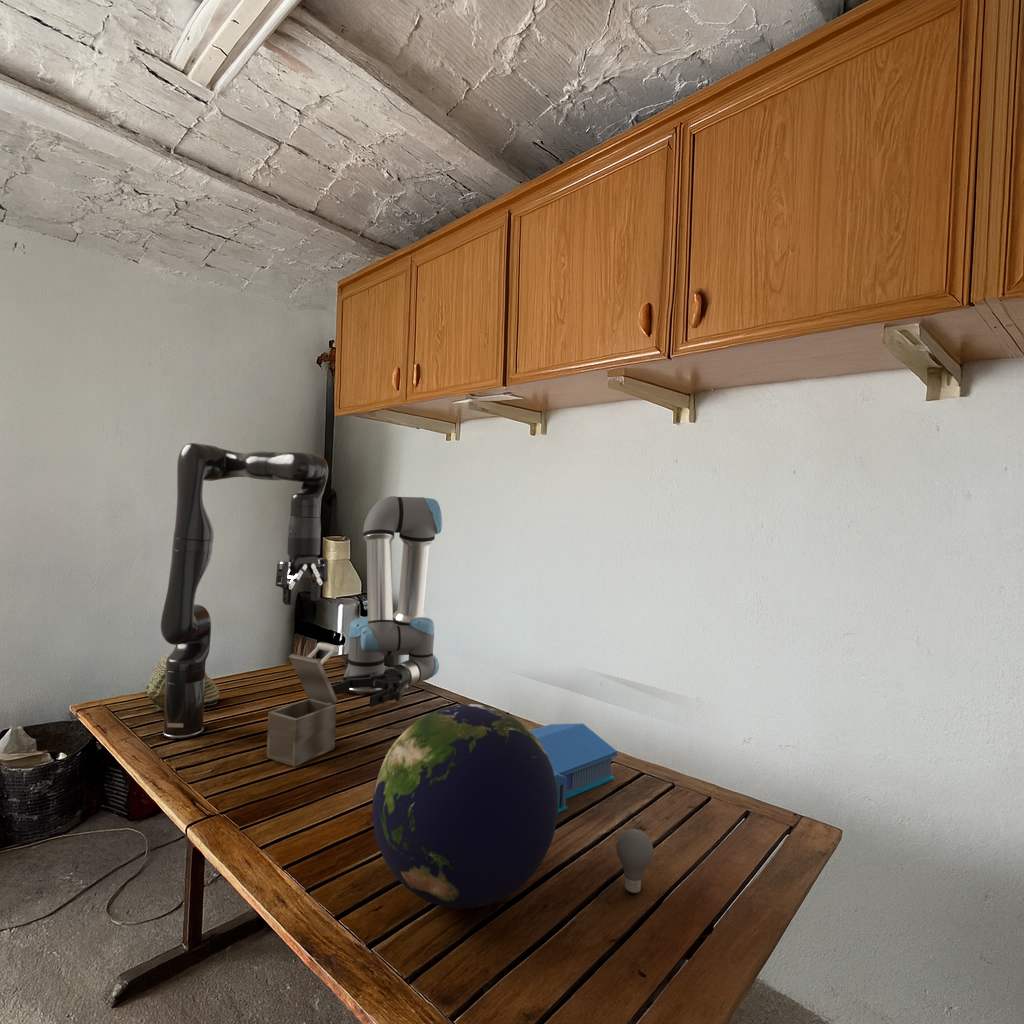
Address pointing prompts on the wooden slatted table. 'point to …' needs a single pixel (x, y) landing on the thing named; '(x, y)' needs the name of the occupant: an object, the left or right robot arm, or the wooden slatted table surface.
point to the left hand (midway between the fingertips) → (301, 602)
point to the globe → (465, 806)
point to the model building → (575, 758)
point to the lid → (315, 674)
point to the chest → (301, 731)
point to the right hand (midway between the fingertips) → (350, 696)
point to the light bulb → (634, 857)
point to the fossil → (158, 687)
